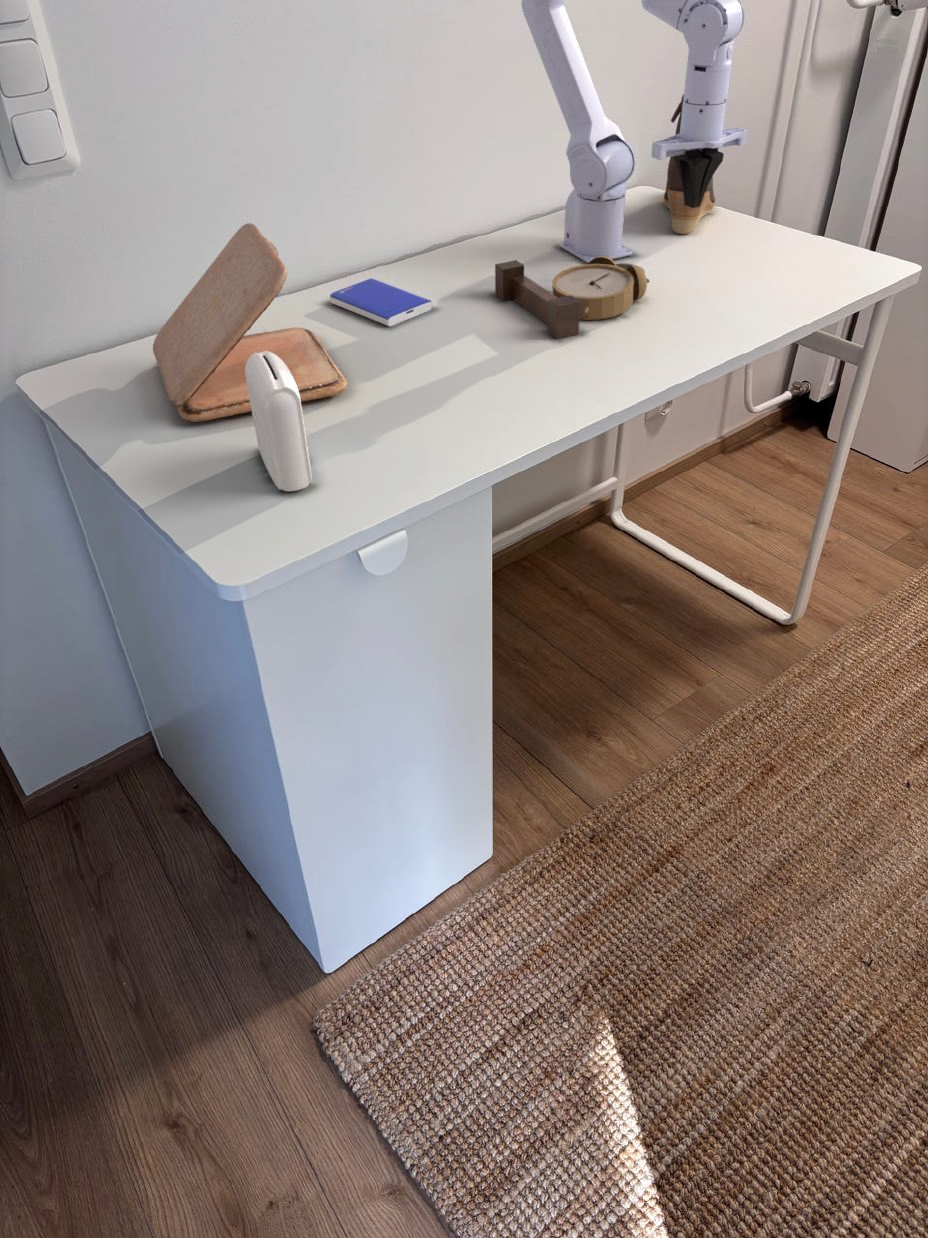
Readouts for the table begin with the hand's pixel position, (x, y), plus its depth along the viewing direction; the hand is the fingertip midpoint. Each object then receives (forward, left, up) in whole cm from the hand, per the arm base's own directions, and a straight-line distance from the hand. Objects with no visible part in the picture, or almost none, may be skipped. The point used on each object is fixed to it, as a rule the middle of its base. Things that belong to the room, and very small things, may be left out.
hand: (692, 205), depth 140 cm
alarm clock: (+4, -17, -10) cm, 20 cm away
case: (+3, -68, -10) cm, 69 cm away
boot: (-21, +16, -10) cm, 28 cm away
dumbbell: (+3, -27, -9) cm, 28 cm away
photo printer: (+26, -71, -10) cm, 76 cm away
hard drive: (-10, -45, -10) cm, 47 cm away
